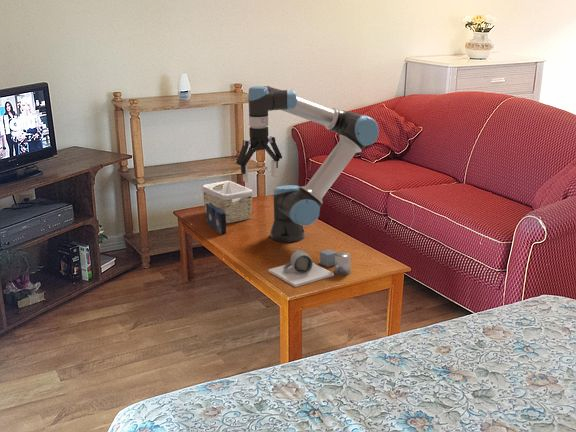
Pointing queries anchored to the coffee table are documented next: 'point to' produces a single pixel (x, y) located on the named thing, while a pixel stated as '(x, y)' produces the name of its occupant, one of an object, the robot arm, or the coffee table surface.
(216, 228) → the vhs cassette tape
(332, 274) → the white thin square slab
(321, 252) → the slate block
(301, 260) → the ceramic mug
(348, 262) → the metal tin
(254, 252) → the coffee table surface
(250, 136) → the robot arm
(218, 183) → the storage basket
